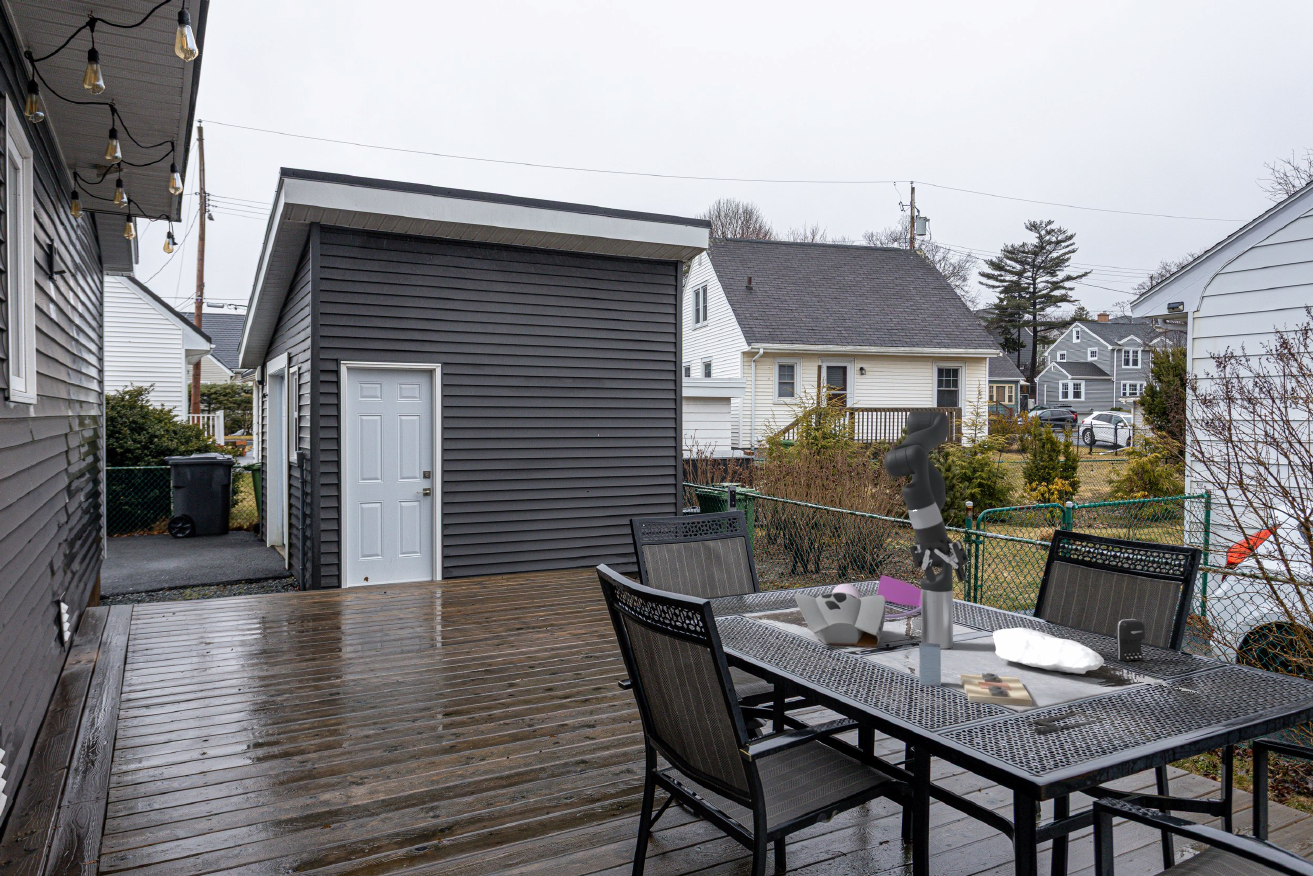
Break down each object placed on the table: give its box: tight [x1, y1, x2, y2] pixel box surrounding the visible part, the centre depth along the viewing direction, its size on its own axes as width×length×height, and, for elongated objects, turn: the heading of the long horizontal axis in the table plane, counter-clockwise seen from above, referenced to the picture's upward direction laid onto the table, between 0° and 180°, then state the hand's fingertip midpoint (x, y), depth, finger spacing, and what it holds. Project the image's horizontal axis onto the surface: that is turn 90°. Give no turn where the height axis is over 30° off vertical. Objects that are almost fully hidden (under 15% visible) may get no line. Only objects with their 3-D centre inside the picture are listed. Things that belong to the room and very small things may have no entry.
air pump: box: [831, 574, 921, 620], centre depth 292 cm, size 32×38×10 cm
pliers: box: [1135, 675, 1199, 693], centre depth 202 cm, size 10×2×15 cm
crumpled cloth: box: [992, 627, 1105, 675], centre depth 224 cm, size 24×35×9 cm
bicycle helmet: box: [794, 591, 886, 648], centre depth 254 cm, size 28×26×16 cm
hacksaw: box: [1022, 704, 1105, 735], centre depth 182 cm, size 24×10×2 cm, turn 114°
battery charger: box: [1116, 618, 1146, 662], centre depth 229 cm, size 7×4×11 cm, turn 101°
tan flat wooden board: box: [960, 672, 1033, 707], centre depth 201 cm, size 18×14×2 cm
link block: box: [918, 642, 942, 687], centre depth 209 cm, size 4×5×10 cm
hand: (947, 581), depth 206 cm, fingers open, 8 cm apart
